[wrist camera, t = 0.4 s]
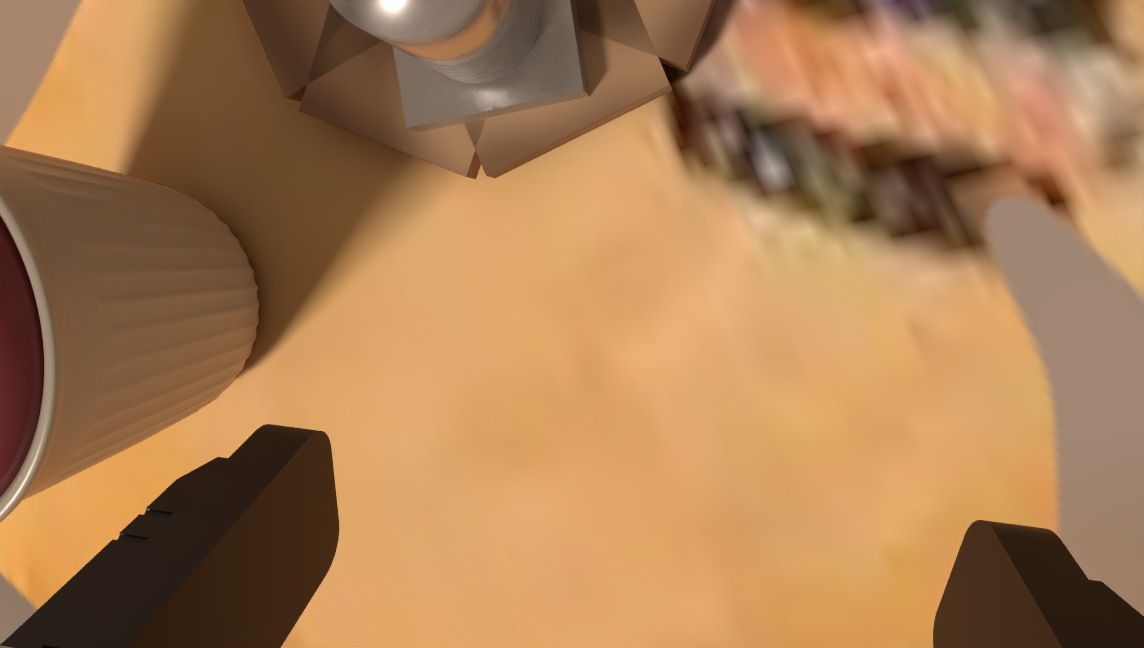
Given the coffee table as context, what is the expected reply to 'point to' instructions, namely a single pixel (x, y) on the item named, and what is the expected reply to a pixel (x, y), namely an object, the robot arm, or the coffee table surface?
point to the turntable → (501, 143)
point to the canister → (107, 315)
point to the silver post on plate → (476, 55)
